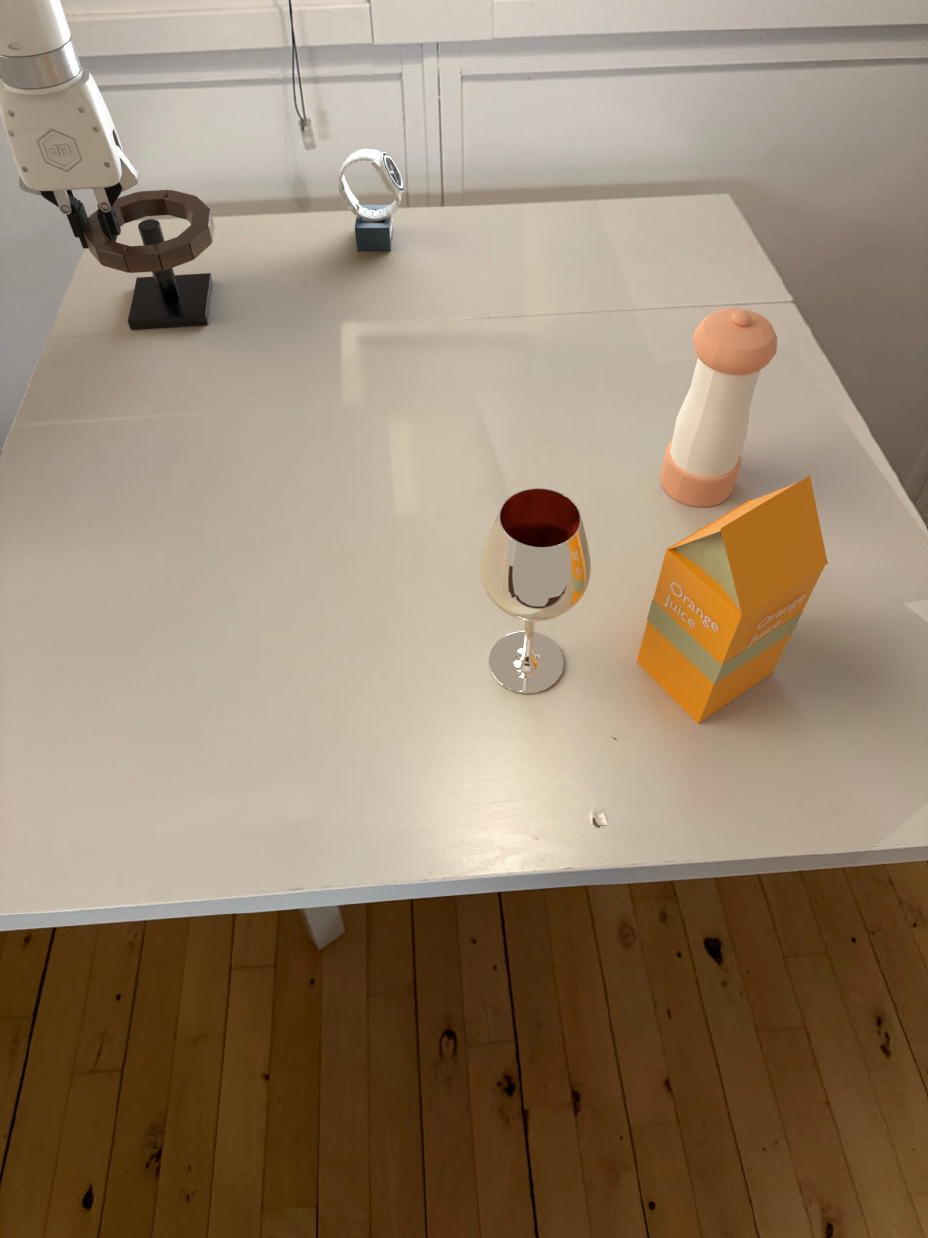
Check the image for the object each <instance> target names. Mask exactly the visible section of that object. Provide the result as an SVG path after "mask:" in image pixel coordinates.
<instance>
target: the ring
mask: <svg viewBox="0 0 928 1238" xmlns="http://www.w3.org/2000/svg"><path fill="white" fill-rule="evenodd" d="M113 206H114V209H115V212H116V215H117V218H118V221H119V224H120V228H121V227H122V226H124V225H125V224H128V223H131V222H134V221H138V220H139V219H143V218H145V217H161V216H171V217H174V218H179V219H182V220H186V221H187V222H189V224H190V225H189V226H188V227H187V228H186V229H185V230H183V231H182V232H181V233H180V234H178V235H177V236H176V237H173V238H170V239H168V240H165V241H164V242H161V243H158V244H155V245H143V244H142V245H128V244H124V243H120V242H117V241H116V242H113V241H111V240H110V239H109V238H108V237H107V236H106V234H105V233H104V232H103V231H102V229H101V226H100V223H99V220H98V217H97V212H98V209H96V210H95V211H94V212H93V213H91V214H90V215H88V216H87V217H88V220H87V224H86V227H85V231H84V233H83V234H84V237H85V240H86V243H87V245H88V248H87V249H88V251H89V252H90V253H91V255H92V256H93V257H94V258H95V259H96V261H97V262H98V263H99V264H100V265H101V266H103V267H105V268H110V269H113V270H116V271H120V272H124V273H128V274H136V273H137V274H138V273H152V272H155V271H162V270H164V271H165V270H168V269H170V268H173V269H174V268H176V267H179V266H182V265H185V264H186V263H189V262H192V261H194V260H195V259H197V258H198V257H199V256H200V255H201V254H202V253H203V252H205V251H206V250H207V249H208V248H209V247H210V246H211V245H213V244H212V243H213V241H214V235H215V227H216V226H215V223H214V218H213V214H212V210H211V208H210V207H209V206H208V205H207V204H205V202H204V201H202V200H201V198H199V197H198V196H196V195H194V194H189V193H186V192H181V191H177V190H174V189H158V190H142V191H141V190H140V191H136V192H132V193H130V194H126V195H123V196H119V197H118V198H117V200H116V201H115V203H114V204H113Z"/></svg>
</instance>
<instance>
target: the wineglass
mask: <svg viewBox="0 0 928 1238" xmlns="http://www.w3.org/2000/svg"><path fill="white" fill-rule="evenodd" d="M496 515H497V516H496V518H495V520H494V522H493V524H492V526H491V529H490V531H489V534H488V536H487V538H486V541H485V543H484V546H483V549H482V553H481V559H480V563H479V564H480V567H479V572H480V579H481V583H482V586H483V588H484V591H485V593H486V594H487V596H488V597H489V599H490V600H491V602H492V603H493V604H494V605H495V606H496V607H498V609H500V610H501V611H502V612H504V613H505V614H507V615H509V616H511V617H512V618H515V619H518V620H522V621H524V622H525V623H524V630H519V631H513V632H511V633H508V634H506V635H503V636H502V637H501V638H500V639H498V640H497V641H496V642H495V643H494V645H493V646H492V648H491V649H490V652H489V655H488V667H489V671H490V673H491V676H492V677H493V678H494V680H495V681H496V682H497V683H498V684H499V685H500V686H502V687H503V688H504V689H506V690H508V691H510V692H514V693H516V694H522V695H532V694H533V695H534V694H538V693H542V692H545V691H546V690H549V688H551V687H553V686H554V685H555V684H557V681H559V680H560V678H561V676H562V674H563V671H564V657H563V653H562V651H561V649H560V647H559V646H558V645H557V644H556V643H555V641H554V640H552V639H551V638H549V637H547V636H546V635H544V634H542V633H539V632H535V630H536V629H535V627H536V622H545V621H549V620H553V619H556V618H558V617H561V616H562V615H565V614H566V613H567V612H569V611H570V610H572V609H573V608H574V607H575V606H577V604H578V603H579V602H580V601H581V600H582V598H583V596H584V595H585V594H586V592H587V590H588V587H589V584H590V581H591V573H592V564H591V555H590V549H589V544H588V540H587V535H586V534H587V533H586V531H585V526H584V522H583V518H582V514H581V511H580V508H579V507H578V505H577V504H576V502H574V501H573V499H571V498H570V497H569V496H567V495H566V494H565V493H563V492H559V491H557V490H554V489H550V488H545V487H532V488H525V489H522V490H520V491H517V492H515V493H513V494H512V495H510V496H509V497H507V499H505V500H504V502H502V505H501V507H500V508H499V511H498V513H497V514H496Z"/></svg>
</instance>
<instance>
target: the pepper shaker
mask: <svg viewBox="0 0 928 1238" xmlns="http://www.w3.org/2000/svg"><path fill="white" fill-rule="evenodd" d="M692 342H693V348H694V351H695V354H696V356H697V360H696V364H695V367H694V372H693V375H692V379H691V384H690V387H689V389H688V392H687V394H686V397H685V399H684V400H683V403H682V405H681V407H680V409H679V411H678V414H677V417H676V420H675V423H674V424H675V425H674V429H673V434H672V438H671V439H670V441H669V442H668V444H667V445H666V447H665V452H664V455H663V456H664V457H663V461H662V465H661V469H660V475H659V481H660V484H661V487H662V489H663V490H664V492H665V493H666V494H667V495H668V496H669V497H671V498H672V499H673V500H675V501H677V502H679V503H681V504H683V505H686V506H691V507H697V508H704V507H705V508H706V507H708V508H709V507H713V506H715V505H719V504H721V503H723V502H724V501H726V500H727V499H729V497H730V496H731V495H732V492H733V491H734V487H735V484H736V482H737V478H738V475H739V472H740V469H741V466H742V465H741V464H742V457H741V453H742V450H743V448H744V446H745V442H746V440H747V436H748V428H749V427H748V426H749V419H750V409H751V403H752V399H753V396H754V392H755V389H756V385H757V383H758V380H759V376H760V373H761V370H763V369H764V368H765V367H766V366H768V365H769V364H770V362H771V361H772V359H774V357H775V356H776V354H777V352H778V351H777V349H778V336H777V334H776V332H775V330H774V327H773V325H772V323H771V322H770V321H769V320H768V319H767V318H766V317H764V316H763V315H762V314H759V313H758V312H755V311H753V310H749V309H745V308H737V307H729V308H726V307H725V308H722V309H718V310H715V311H712V313H709V314H708V315H707V316H705V317H704V318H703V319H702V320H701V321H700V323H699V324H698V325H697V326H696V328H695V331H694V332H693V338H692Z"/></svg>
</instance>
